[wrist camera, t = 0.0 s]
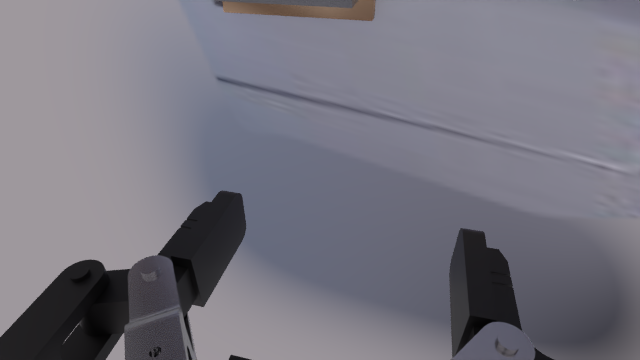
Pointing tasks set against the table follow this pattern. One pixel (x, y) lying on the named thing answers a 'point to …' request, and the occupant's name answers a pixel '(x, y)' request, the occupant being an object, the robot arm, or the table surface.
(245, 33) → the table surface
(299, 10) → the socket board
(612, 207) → the table surface
